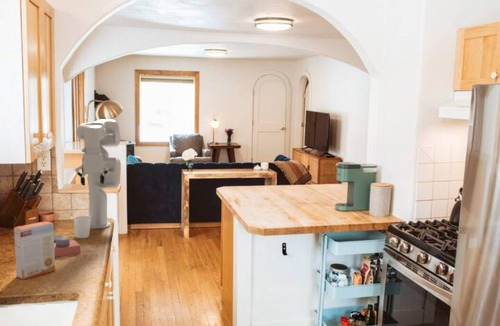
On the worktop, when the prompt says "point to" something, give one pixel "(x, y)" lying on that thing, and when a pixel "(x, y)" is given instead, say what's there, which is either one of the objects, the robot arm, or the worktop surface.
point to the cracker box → (34, 249)
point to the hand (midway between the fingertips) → (92, 184)
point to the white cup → (82, 226)
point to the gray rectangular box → (57, 237)
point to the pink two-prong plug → (66, 247)
